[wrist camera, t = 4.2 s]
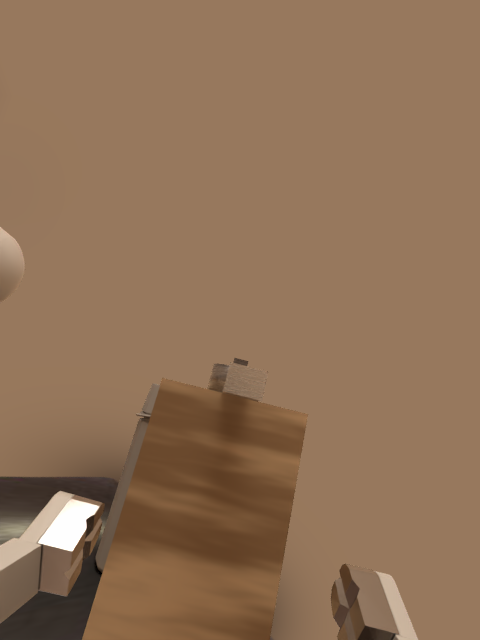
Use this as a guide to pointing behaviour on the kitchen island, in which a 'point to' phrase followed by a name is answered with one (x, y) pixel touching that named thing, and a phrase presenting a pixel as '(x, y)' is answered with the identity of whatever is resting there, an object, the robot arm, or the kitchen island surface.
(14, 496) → the kitchen island surface
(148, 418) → the water bottle
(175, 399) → the wooden block
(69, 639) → the kitchen island surface
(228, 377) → the ratchet wrench
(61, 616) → the kitchen island surface
